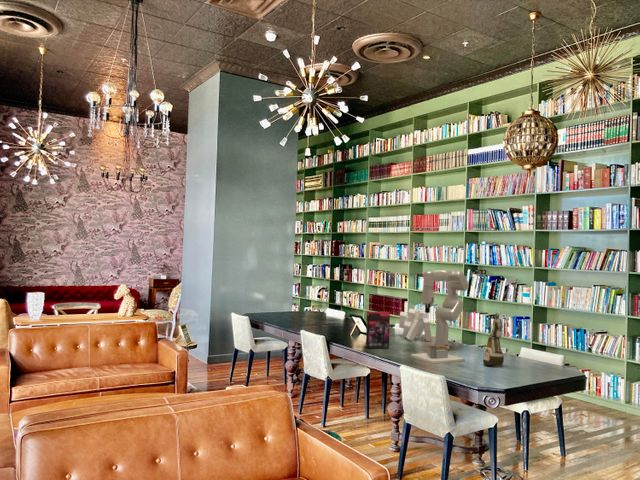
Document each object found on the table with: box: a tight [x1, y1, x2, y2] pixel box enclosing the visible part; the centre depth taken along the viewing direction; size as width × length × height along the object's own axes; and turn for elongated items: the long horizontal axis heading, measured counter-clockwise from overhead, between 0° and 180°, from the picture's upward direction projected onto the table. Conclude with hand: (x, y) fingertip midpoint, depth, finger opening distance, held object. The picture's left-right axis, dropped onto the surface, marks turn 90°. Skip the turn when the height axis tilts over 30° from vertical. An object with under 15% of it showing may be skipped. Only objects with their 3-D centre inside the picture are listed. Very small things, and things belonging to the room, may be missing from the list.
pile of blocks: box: [398, 308, 433, 342], centre depth 429 cm, size 35×30×35 cm
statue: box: [482, 312, 505, 367], centre depth 336 cm, size 16×11×35 cm, turn 118°
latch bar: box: [427, 344, 450, 350], centre depth 350 cm, size 18×3×3 cm, turn 120°
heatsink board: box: [410, 344, 466, 365], centre depth 350 cm, size 28×24×10 cm
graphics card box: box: [365, 310, 391, 349], centre depth 381 cm, size 17×7×27 cm, turn 101°
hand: (427, 312), depth 374 cm, fingers closed
